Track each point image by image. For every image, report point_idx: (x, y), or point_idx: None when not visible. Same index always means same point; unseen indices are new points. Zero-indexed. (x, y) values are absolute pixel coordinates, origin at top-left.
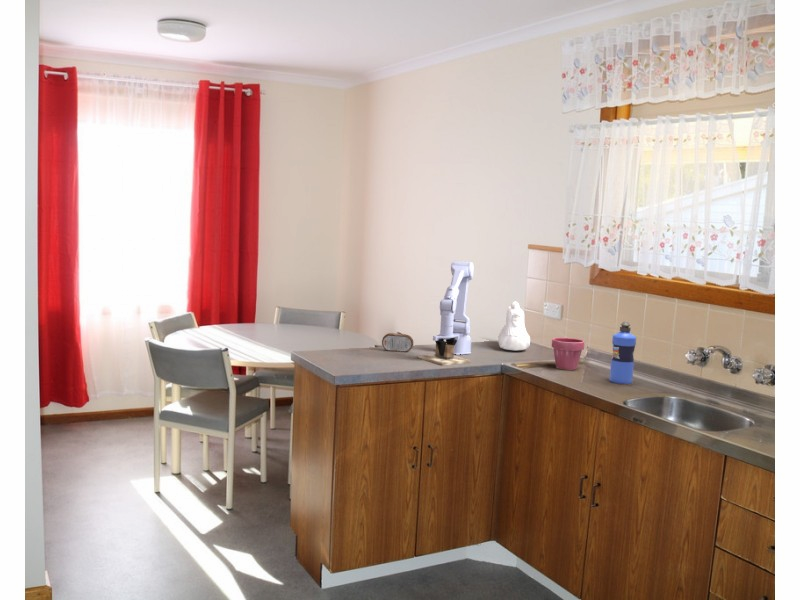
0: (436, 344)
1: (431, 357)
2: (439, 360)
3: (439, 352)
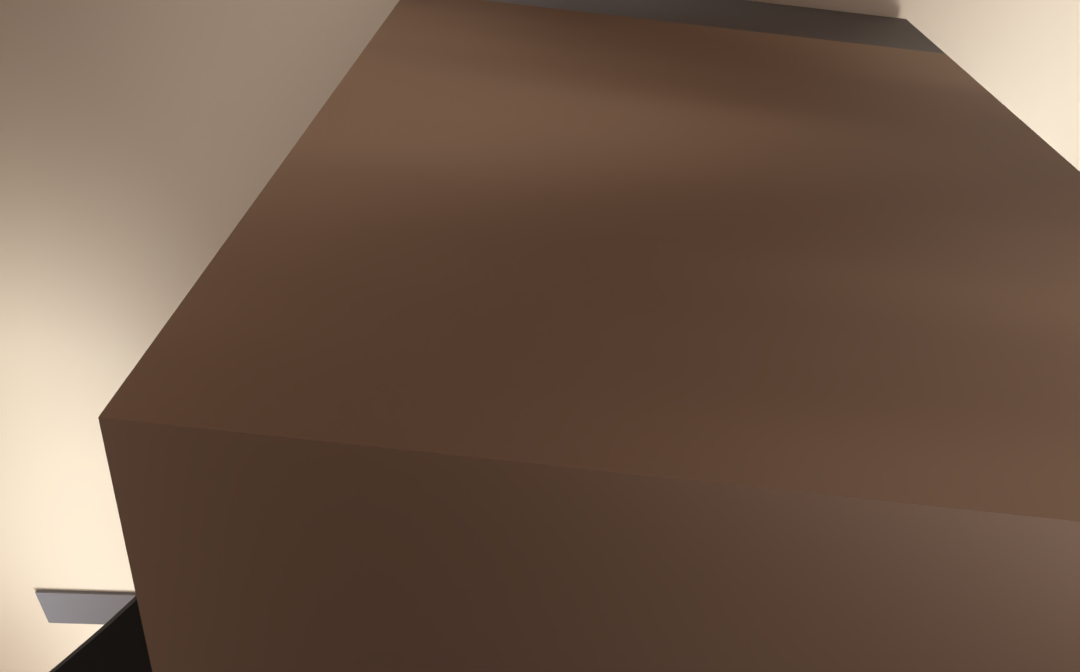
0: (172, 444)
1: (63, 47)
2: (65, 568)
3: None
